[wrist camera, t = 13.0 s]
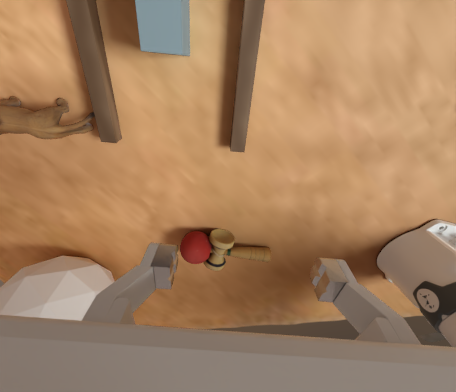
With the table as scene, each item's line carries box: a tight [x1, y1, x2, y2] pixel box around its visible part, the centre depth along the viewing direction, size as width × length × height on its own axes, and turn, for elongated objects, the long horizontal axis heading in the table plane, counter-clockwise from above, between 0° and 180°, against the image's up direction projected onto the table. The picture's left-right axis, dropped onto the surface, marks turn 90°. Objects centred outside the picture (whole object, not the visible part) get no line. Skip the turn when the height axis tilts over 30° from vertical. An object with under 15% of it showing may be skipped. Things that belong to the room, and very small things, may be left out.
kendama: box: [180, 229, 271, 271], centre depth 41 cm, size 8×6×18 cm
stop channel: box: [66, 0, 265, 152], centre depth 24 cm, size 20×21×4 cm
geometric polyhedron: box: [0, 256, 115, 321], centre depth 38 cm, size 19×20×20 cm
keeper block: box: [135, 0, 190, 56], centre depth 21 cm, size 4×6×6 cm, turn 175°
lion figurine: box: [0, 96, 95, 139], centre depth 25 cm, size 15×5×9 cm, turn 94°
